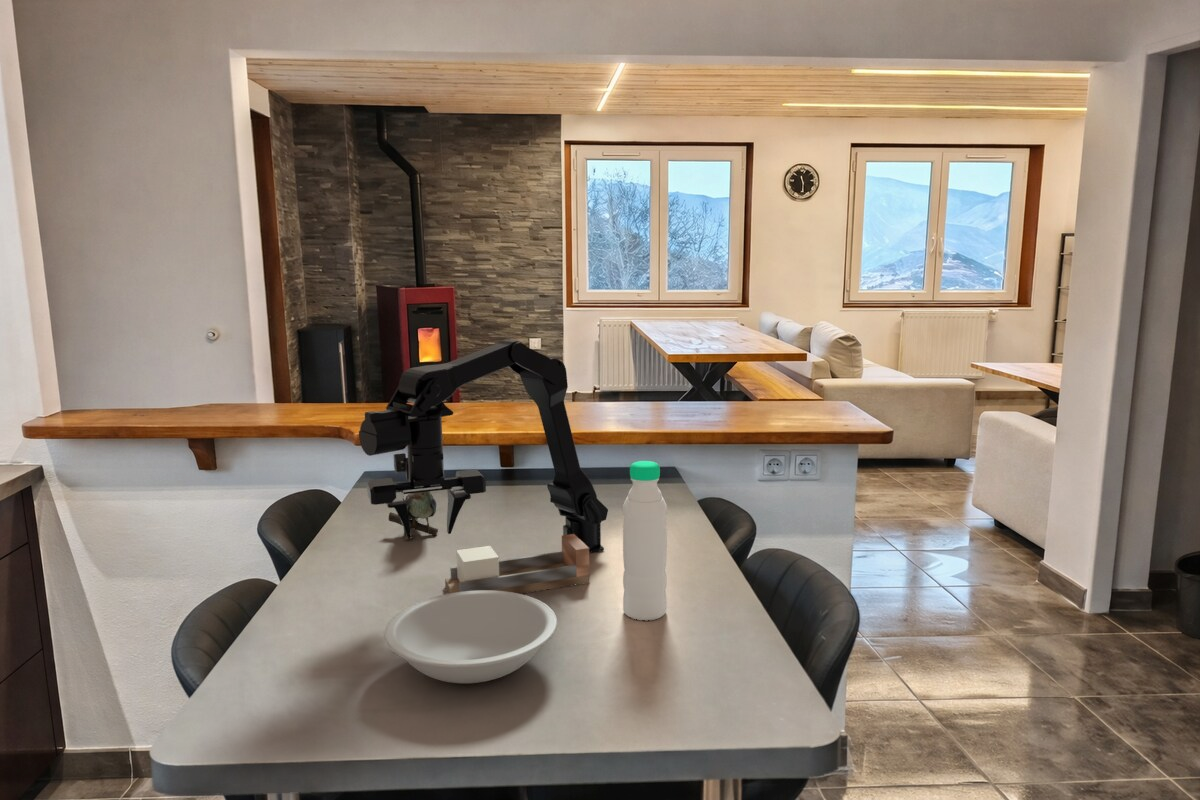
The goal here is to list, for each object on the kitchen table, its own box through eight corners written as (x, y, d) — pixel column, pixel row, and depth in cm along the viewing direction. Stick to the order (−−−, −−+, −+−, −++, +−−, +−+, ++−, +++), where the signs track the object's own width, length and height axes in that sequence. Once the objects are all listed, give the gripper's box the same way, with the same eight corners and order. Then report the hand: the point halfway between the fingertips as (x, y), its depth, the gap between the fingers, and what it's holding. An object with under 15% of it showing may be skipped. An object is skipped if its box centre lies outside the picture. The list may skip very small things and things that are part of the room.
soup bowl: (576, 637, 130) (576, 596, 129) (528, 722, 107) (527, 673, 106) (430, 623, 136) (428, 584, 134) (354, 701, 113) (351, 654, 112)
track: (574, 567, 158) (574, 533, 157) (589, 583, 151) (589, 548, 150) (445, 586, 150) (443, 551, 149) (454, 604, 143) (453, 567, 141)
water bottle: (671, 607, 141) (672, 459, 136) (660, 624, 134) (660, 470, 130) (630, 601, 143) (629, 456, 138) (617, 618, 136) (616, 467, 132)
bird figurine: (388, 517, 186) (386, 452, 173) (434, 514, 188) (435, 449, 175) (390, 566, 176) (387, 501, 163) (438, 563, 178) (440, 498, 166)
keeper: (491, 572, 151) (490, 545, 151) (499, 584, 146) (498, 557, 145) (457, 577, 149) (456, 550, 148) (464, 590, 144) (463, 562, 143)
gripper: (470, 430, 151) (473, 515, 154) (361, 439, 145) (366, 528, 147) (485, 443, 141) (488, 534, 144) (368, 454, 134) (374, 549, 137)
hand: (429, 535), depth 143 cm, fingers open, 6 cm apart
